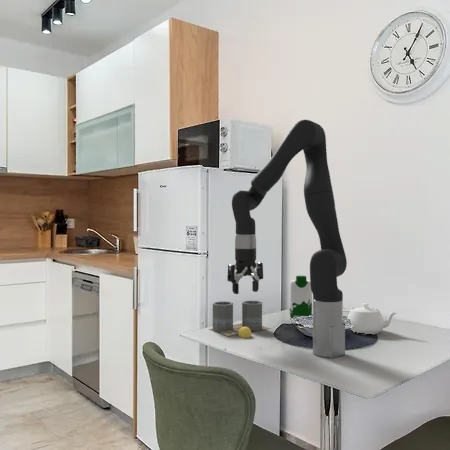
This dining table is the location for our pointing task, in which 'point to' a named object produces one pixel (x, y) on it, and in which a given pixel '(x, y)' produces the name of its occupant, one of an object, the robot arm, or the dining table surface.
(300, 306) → the milk carton
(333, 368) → the dining table surface
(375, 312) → the teapot
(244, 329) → the mustard ball
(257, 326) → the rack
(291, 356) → the dining table surface
